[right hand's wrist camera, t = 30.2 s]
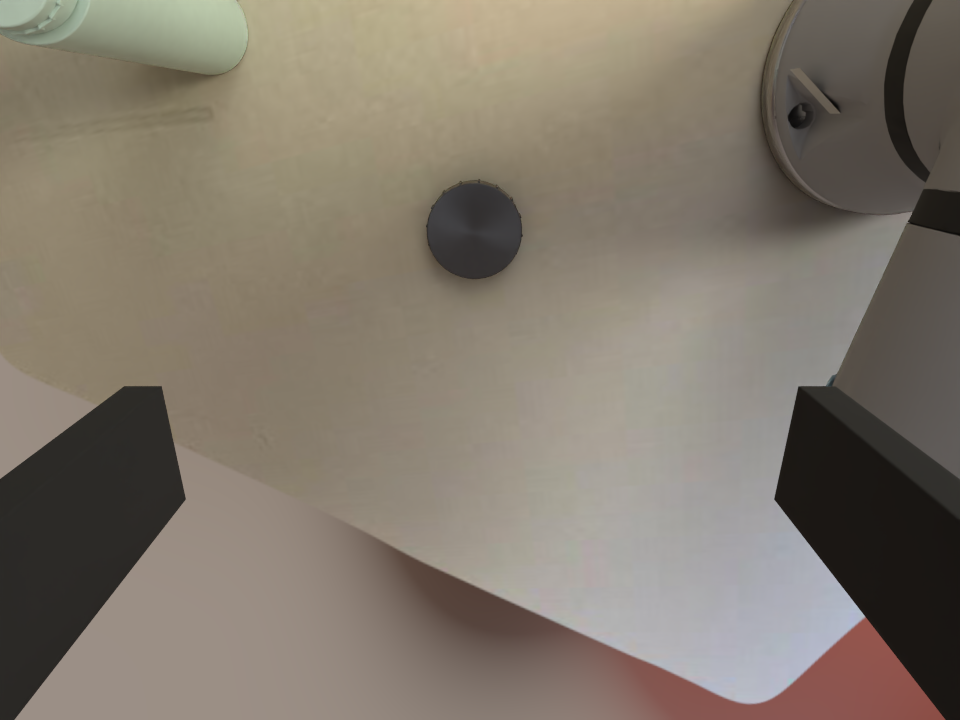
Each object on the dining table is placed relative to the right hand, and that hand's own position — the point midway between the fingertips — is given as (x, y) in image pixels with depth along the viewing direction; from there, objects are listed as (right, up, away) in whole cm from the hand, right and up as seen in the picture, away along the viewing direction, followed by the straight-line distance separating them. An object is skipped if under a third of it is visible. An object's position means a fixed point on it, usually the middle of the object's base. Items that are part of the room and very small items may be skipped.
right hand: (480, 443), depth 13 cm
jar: (-16, +20, +21) cm, 33 cm away
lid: (0, +10, +24) cm, 26 cm away
